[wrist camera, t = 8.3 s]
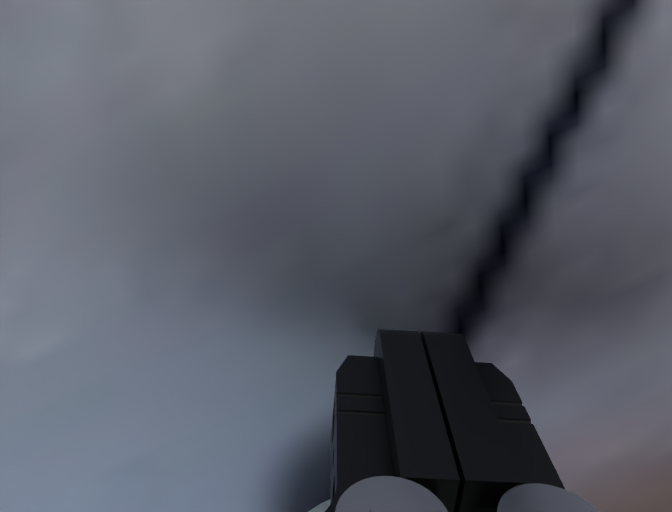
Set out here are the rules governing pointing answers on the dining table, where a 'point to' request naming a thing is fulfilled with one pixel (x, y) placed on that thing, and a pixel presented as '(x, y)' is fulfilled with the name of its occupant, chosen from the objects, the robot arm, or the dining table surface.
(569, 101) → the dining table surface
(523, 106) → the dining table surface
